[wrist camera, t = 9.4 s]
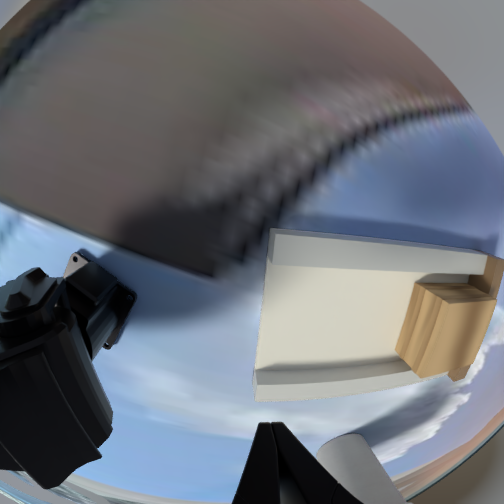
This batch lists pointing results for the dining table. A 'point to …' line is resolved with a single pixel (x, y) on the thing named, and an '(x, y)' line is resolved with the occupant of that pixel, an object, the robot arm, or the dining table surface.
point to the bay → (348, 310)
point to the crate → (444, 327)
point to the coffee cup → (358, 470)
